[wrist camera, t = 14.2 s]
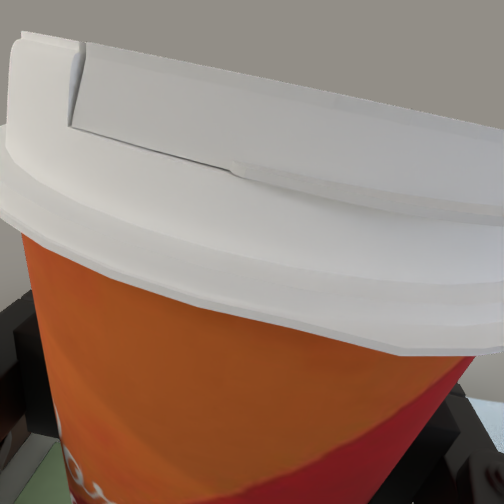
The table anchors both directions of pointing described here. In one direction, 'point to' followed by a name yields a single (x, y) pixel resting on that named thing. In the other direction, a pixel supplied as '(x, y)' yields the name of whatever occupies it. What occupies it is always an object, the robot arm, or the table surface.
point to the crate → (17, 438)
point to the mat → (48, 481)
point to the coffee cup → (243, 273)
